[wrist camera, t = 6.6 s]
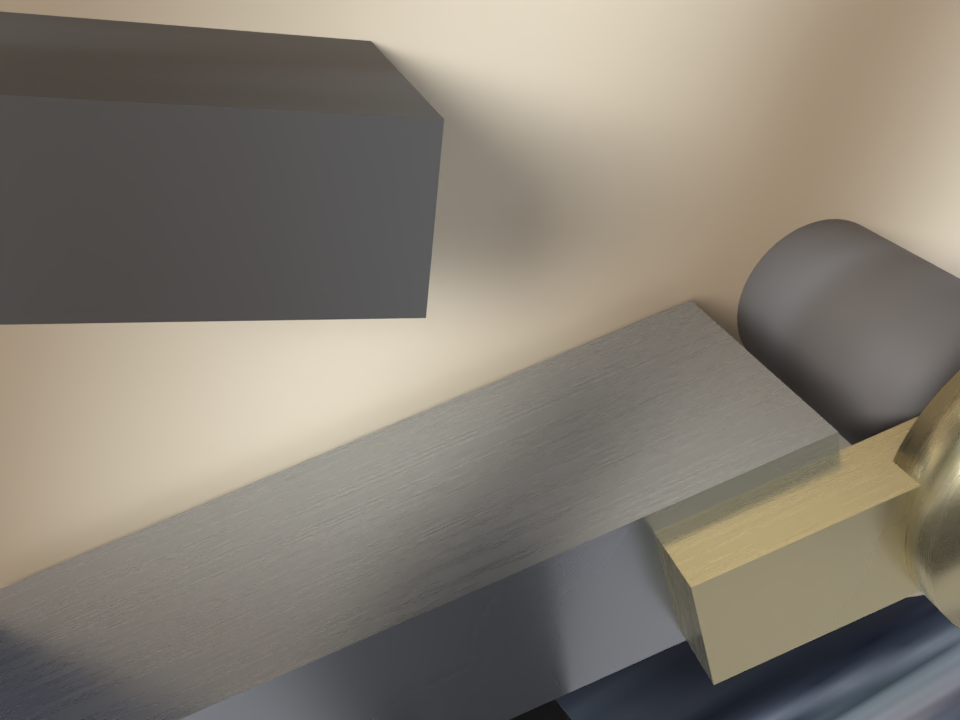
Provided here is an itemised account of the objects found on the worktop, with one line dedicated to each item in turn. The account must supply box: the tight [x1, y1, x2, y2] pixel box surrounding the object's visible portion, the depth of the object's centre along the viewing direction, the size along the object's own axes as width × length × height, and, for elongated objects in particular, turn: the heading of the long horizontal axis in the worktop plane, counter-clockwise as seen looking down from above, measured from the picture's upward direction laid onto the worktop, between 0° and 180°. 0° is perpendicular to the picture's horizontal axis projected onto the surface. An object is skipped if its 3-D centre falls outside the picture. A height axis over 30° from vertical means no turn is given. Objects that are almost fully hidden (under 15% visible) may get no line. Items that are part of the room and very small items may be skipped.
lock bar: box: [0, 300, 960, 720], centre depth 7 cm, size 10×3×3 cm, turn 107°
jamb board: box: [0, 0, 960, 597], centre depth 8 cm, size 18×13×4 cm
